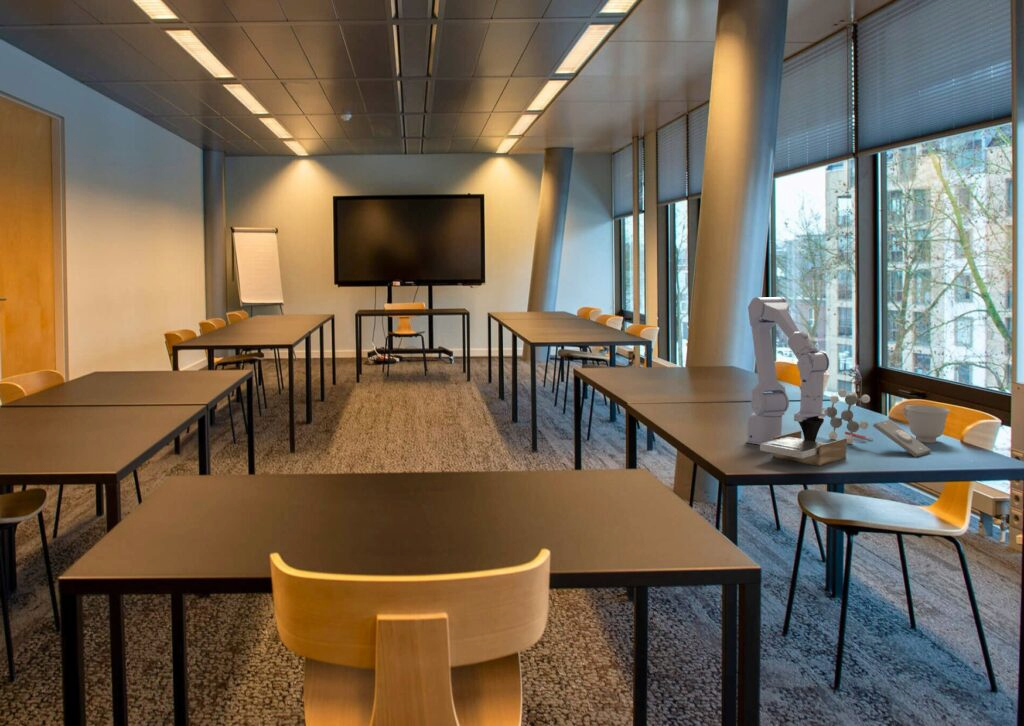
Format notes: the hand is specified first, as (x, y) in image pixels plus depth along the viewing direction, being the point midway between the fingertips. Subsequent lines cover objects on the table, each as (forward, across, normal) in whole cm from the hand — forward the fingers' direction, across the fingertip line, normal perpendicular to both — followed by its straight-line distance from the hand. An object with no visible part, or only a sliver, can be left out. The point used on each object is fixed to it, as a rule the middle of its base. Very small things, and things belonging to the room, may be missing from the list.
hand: (809, 443), depth 217 cm
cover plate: (+1, -8, 0) cm, 8 cm away
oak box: (+4, 0, 0) cm, 4 cm away
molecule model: (+4, +31, +4) cm, 32 cm away
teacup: (+4, +47, -11) cm, 48 cm away
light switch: (+4, +27, -13) cm, 31 cm away
